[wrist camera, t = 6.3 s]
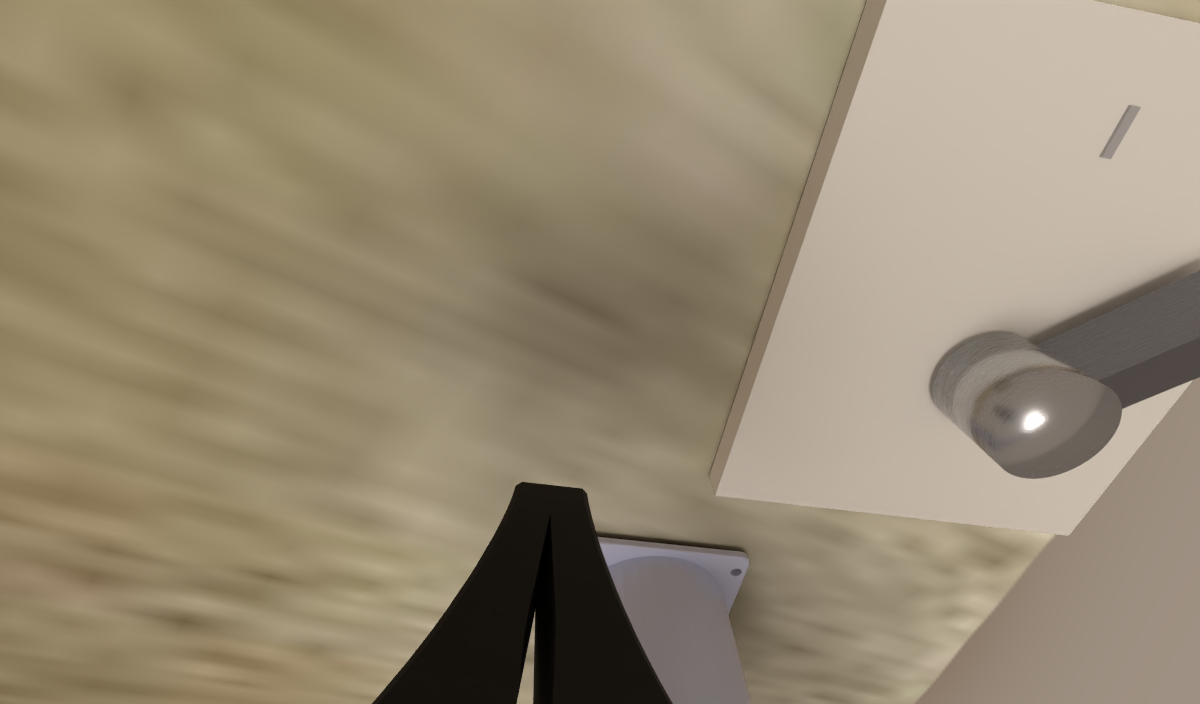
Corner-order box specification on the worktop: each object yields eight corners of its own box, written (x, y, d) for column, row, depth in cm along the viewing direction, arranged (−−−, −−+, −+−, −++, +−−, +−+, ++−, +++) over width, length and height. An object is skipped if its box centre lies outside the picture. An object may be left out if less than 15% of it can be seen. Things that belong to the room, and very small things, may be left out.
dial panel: (1047, 515, 23) (1070, 537, 22) (709, 476, 22) (715, 497, 21) (1378, 74, 15) (1442, 74, 14) (877, -32, 14) (903, -42, 13)
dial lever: (946, 435, 19) (1007, 495, 17) (920, 365, 18) (982, 416, 15) (1207, 322, 17) (1327, 369, 15) (1201, 233, 16) (1332, 265, 13)
